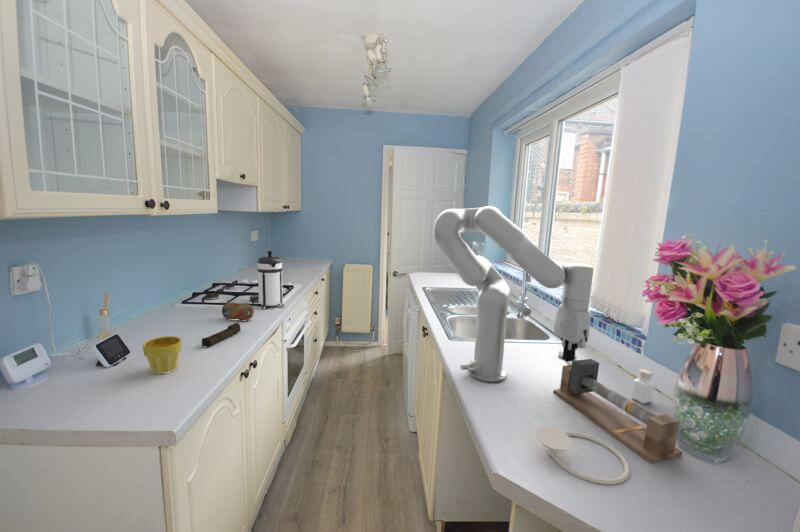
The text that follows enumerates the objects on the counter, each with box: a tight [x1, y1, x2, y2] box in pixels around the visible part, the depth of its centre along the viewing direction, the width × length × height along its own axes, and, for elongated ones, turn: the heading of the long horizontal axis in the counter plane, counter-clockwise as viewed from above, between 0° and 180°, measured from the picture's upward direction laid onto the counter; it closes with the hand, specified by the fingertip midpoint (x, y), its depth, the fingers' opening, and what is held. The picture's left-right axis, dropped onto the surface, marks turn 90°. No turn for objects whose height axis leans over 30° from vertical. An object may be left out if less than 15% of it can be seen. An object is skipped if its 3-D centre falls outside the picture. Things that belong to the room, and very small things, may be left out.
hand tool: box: [201, 322, 241, 348], centre depth 145 cm, size 19×4×5 cm, turn 161°
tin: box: [221, 302, 255, 322], centre depth 168 cm, size 15×3×8 cm, turn 81°
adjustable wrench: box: [558, 350, 577, 365], centre depth 132 cm, size 25×6×2 cm, turn 162°
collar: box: [569, 358, 600, 394], centre depth 107 cm, size 7×3×9 cm, turn 107°
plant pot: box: [142, 335, 183, 373], centre depth 116 cm, size 10×10×10 cm
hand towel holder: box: [535, 426, 631, 486], centre depth 83 cm, size 17×4×21 cm
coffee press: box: [256, 250, 285, 308], centre depth 191 cm, size 17×16×30 cm
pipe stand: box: [552, 364, 683, 464], centre depth 98 cm, size 10×32×9 cm, turn 17°
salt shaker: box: [630, 368, 654, 405], centre depth 109 cm, size 4×4×10 cm
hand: (568, 359), depth 113 cm, fingers closed
